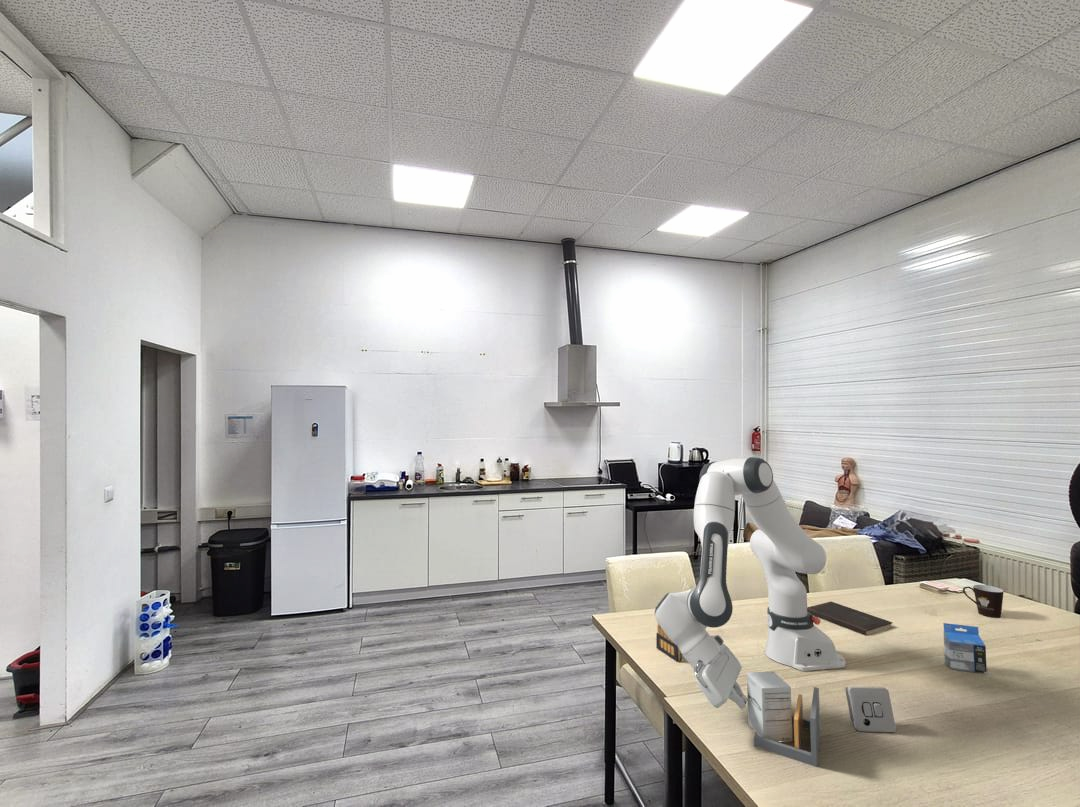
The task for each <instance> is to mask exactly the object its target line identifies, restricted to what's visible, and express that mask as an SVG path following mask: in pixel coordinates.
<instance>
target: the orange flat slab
mask: <svg viewBox="0 0 1080 807" xmlns="http://www.w3.org/2000/svg"><path fill="white" fill-rule="evenodd" d="M803 705H804V704H803V694H801V693H798V694H797V700H796V706H795V710H794V711H795V712H794V725H793V728H794V729H793V732H794V734H793V736H794V739H793V740H794V748H798V749H801V741H802V734H803V729H804V728H803V717H804V712H803V711H804V709H803V708H804V707H803Z"/></svg>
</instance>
